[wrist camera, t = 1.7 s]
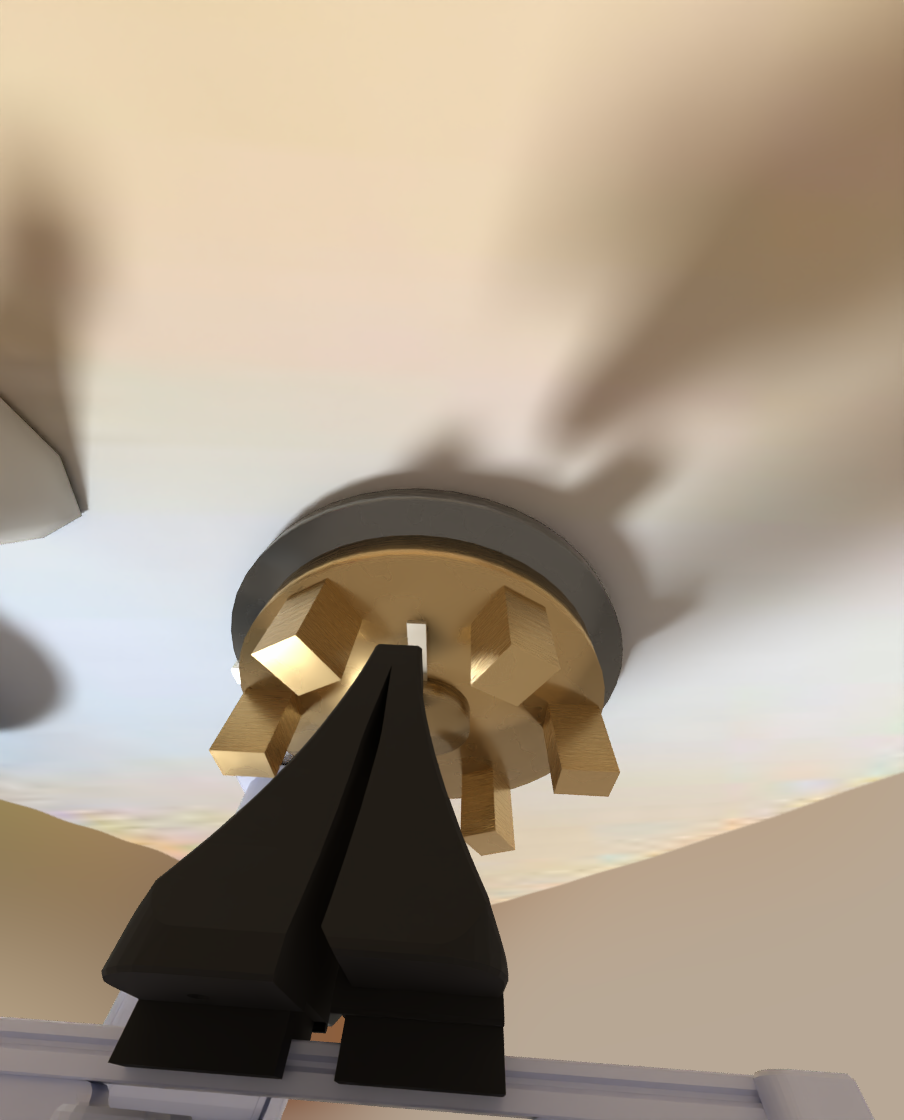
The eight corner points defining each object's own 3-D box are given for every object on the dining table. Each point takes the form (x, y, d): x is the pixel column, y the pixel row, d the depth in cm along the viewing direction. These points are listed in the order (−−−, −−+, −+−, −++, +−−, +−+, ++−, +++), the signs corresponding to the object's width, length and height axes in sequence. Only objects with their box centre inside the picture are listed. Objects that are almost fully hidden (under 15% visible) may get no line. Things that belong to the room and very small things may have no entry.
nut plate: (574, 767, 27) (580, 794, 26) (288, 751, 28) (277, 777, 26) (669, 497, 16) (691, 517, 15) (185, 480, 17) (154, 498, 15)
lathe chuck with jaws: (560, 774, 26) (579, 869, 21) (296, 759, 26) (261, 849, 22) (635, 543, 16) (698, 630, 11) (211, 527, 16) (115, 604, 12)
